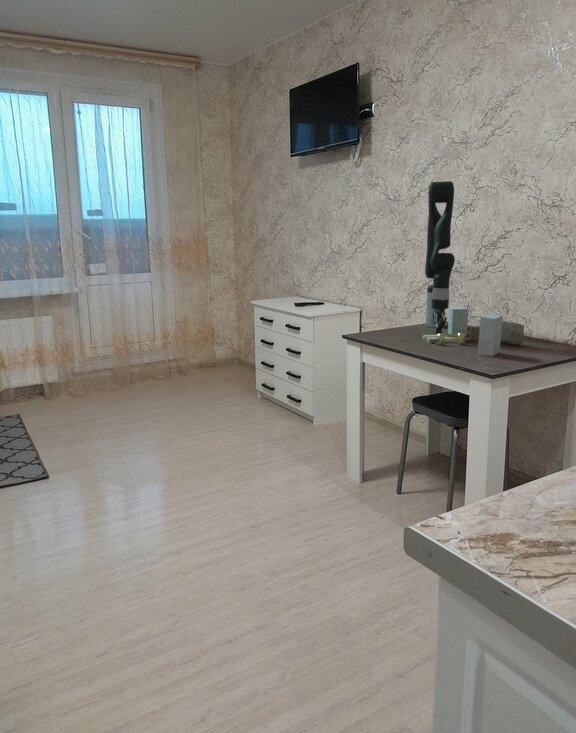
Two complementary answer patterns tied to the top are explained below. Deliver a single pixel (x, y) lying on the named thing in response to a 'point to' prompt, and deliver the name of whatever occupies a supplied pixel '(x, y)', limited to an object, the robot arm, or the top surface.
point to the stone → (512, 333)
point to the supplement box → (458, 320)
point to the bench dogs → (442, 336)
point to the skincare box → (490, 334)
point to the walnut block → (474, 333)
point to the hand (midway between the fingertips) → (438, 335)
